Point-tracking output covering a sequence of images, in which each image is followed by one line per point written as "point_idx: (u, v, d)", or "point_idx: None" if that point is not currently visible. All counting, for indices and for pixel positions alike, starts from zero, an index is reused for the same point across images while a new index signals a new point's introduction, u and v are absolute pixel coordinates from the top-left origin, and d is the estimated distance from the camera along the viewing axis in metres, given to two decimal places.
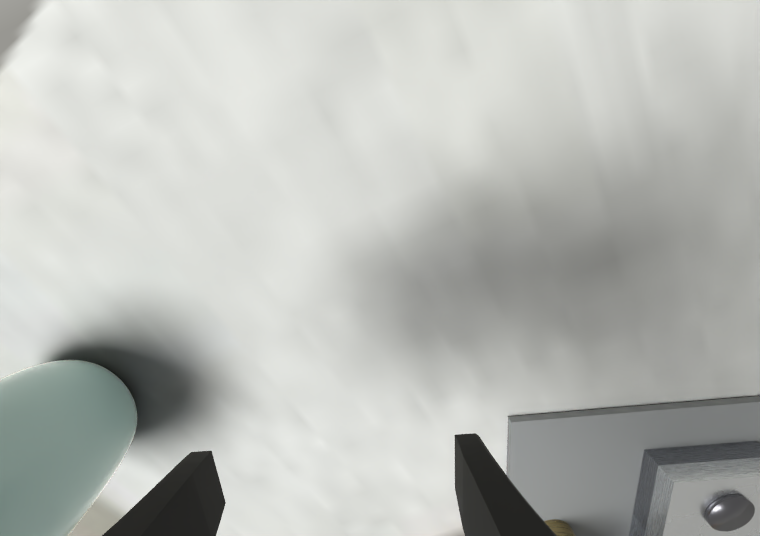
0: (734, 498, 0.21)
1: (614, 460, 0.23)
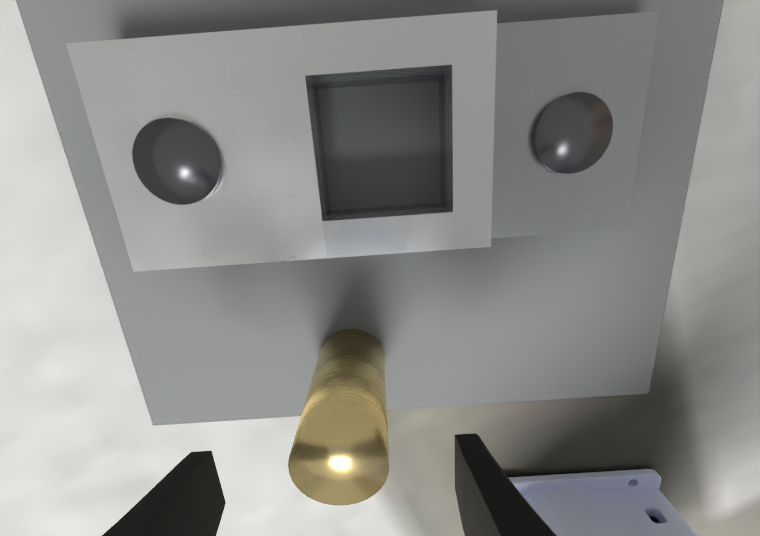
0: (138, 166, 0.11)
1: (197, 292, 0.15)
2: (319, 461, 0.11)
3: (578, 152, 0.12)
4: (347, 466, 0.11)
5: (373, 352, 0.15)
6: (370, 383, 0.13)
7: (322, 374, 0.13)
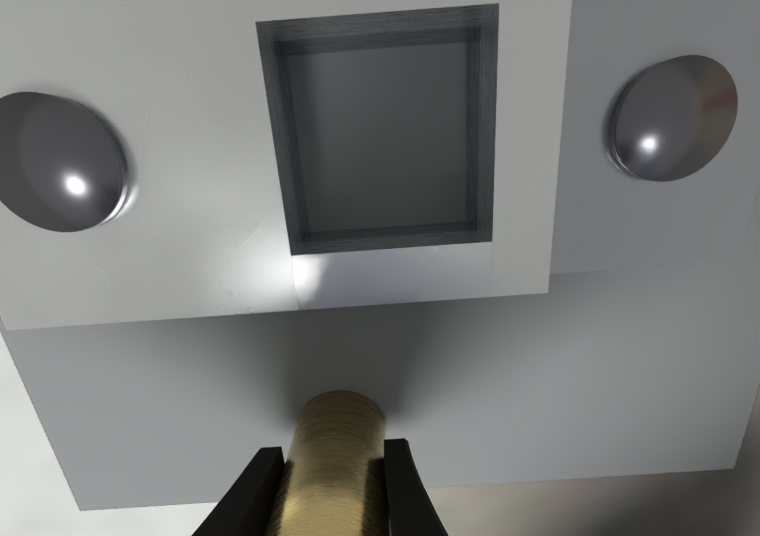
0: None
1: (127, 343, 0.11)
2: None
3: (680, 149, 0.08)
4: None
5: (370, 429, 0.11)
6: (365, 496, 0.08)
7: (295, 476, 0.09)
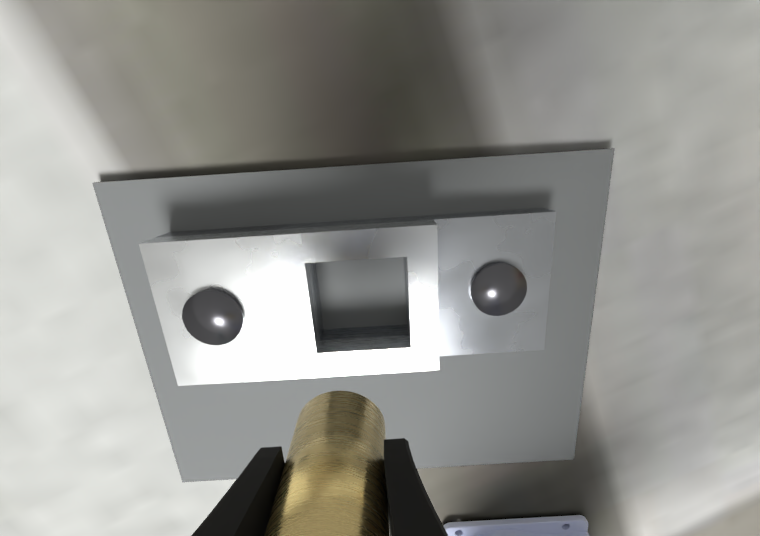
0: (185, 320, 0.16)
1: (220, 385, 0.20)
2: None
3: (503, 302, 0.17)
4: None
5: (370, 430, 0.11)
6: (365, 497, 0.08)
7: (295, 477, 0.09)
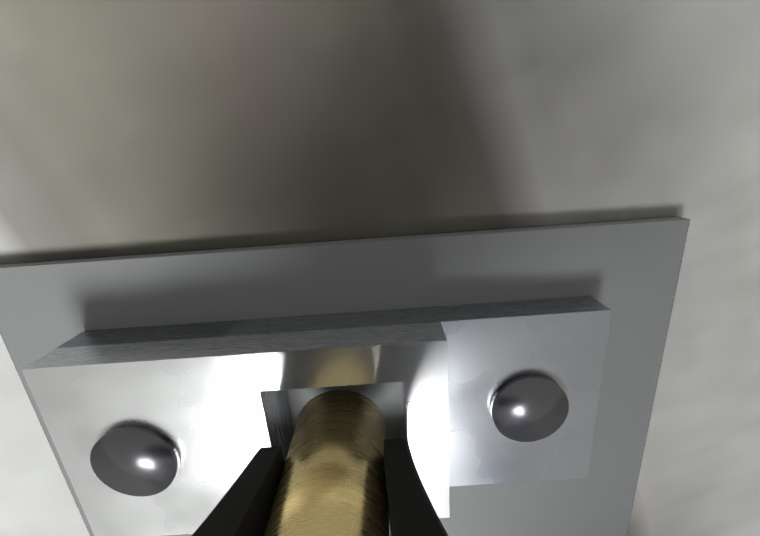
0: (96, 466, 0.11)
1: None
2: None
3: (535, 425, 0.12)
4: None
5: (370, 430, 0.11)
6: (365, 496, 0.08)
7: (295, 477, 0.09)
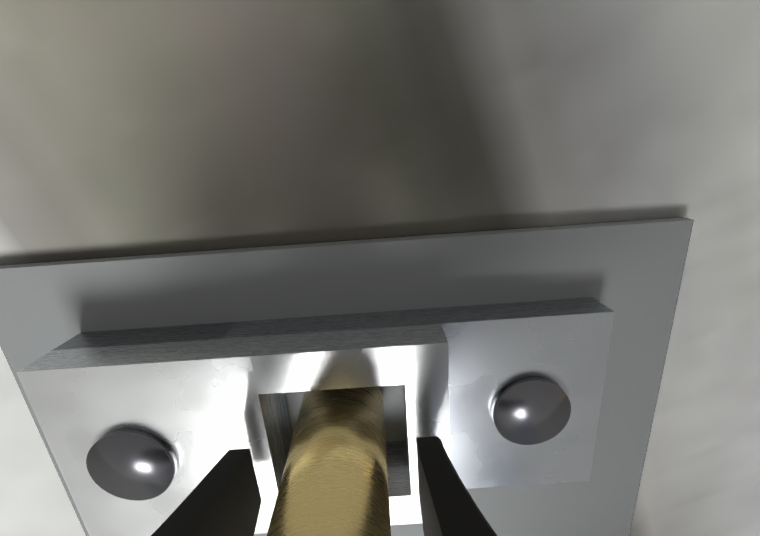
0: (92, 470, 0.11)
1: None
2: None
3: (537, 428, 0.12)
4: None
5: (370, 397, 0.12)
6: (366, 448, 0.10)
7: (305, 434, 0.10)
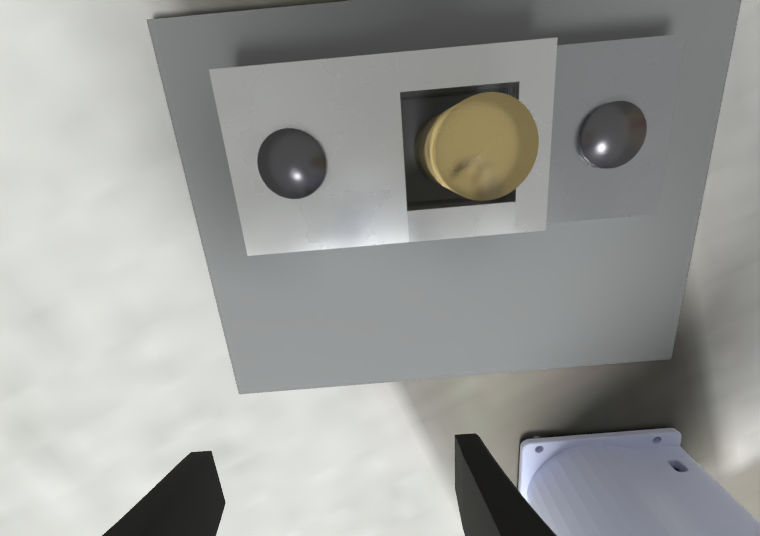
0: (260, 168, 0.14)
1: (284, 275, 0.18)
2: (468, 140, 0.10)
3: (617, 150, 0.15)
4: (496, 146, 0.10)
5: None
6: None
7: (441, 113, 0.13)
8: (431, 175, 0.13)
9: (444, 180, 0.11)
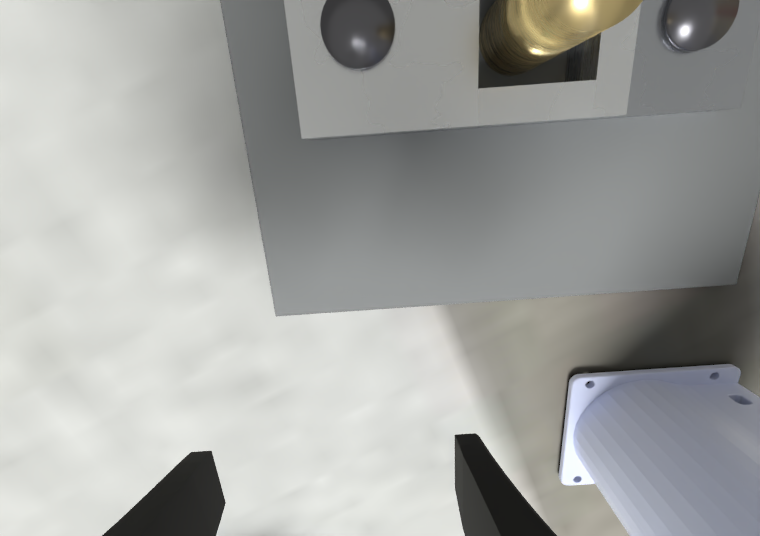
0: (323, 30, 0.13)
1: (331, 180, 0.17)
2: None
3: (705, 29, 0.14)
4: None
5: None
6: None
7: None
8: (513, 36, 0.12)
9: (548, 5, 0.10)
